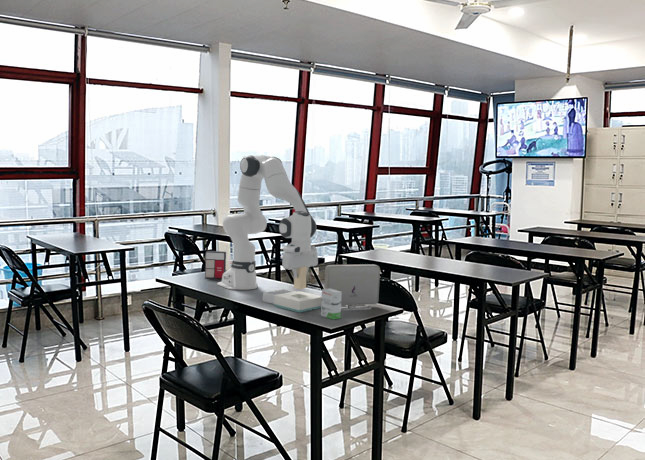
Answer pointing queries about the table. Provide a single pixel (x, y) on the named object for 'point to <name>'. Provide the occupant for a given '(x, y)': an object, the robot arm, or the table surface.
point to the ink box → (331, 303)
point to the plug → (301, 278)
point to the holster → (273, 295)
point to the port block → (298, 301)
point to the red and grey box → (215, 264)
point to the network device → (354, 284)
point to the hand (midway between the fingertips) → (300, 277)
